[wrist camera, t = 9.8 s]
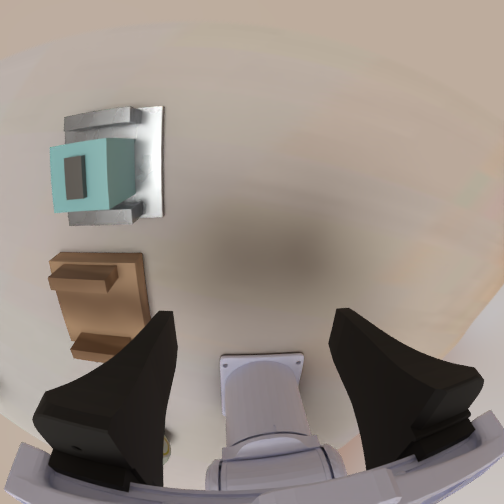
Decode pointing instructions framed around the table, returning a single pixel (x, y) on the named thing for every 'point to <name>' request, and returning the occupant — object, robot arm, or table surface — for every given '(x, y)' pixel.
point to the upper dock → (100, 300)
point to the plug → (92, 174)
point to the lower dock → (145, 157)
